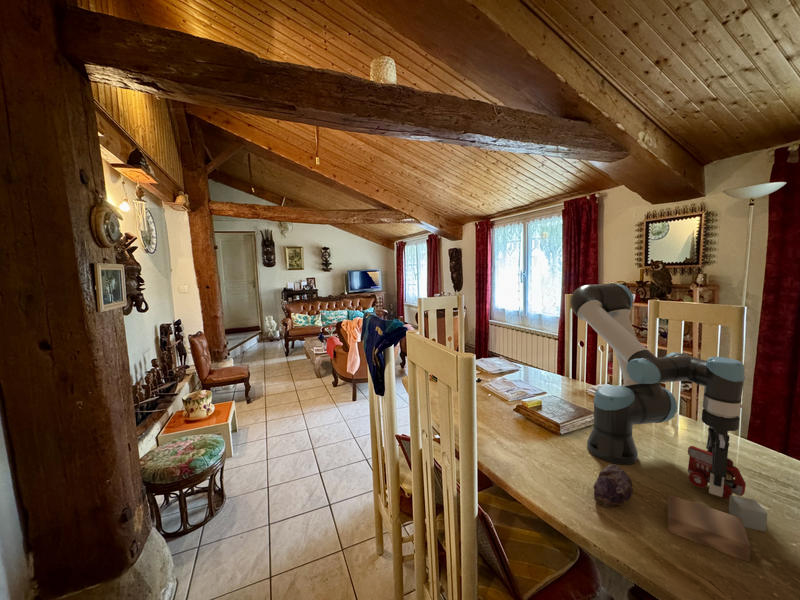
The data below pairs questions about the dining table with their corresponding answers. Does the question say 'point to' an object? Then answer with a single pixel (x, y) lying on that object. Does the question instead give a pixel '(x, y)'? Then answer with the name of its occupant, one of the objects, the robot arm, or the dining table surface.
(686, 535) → the pedestal
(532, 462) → the dining table surface
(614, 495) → the rock
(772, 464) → the dining table surface
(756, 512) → the grey cube
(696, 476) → the toy fire truck
